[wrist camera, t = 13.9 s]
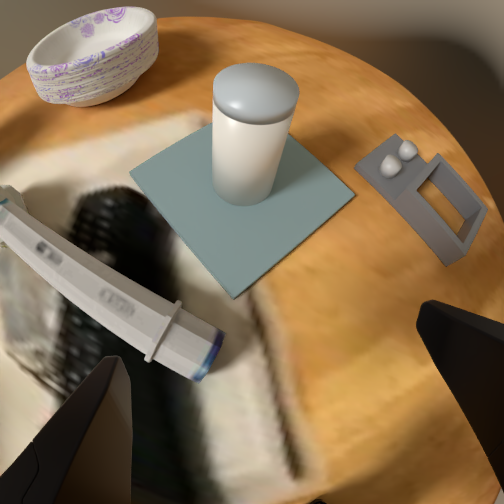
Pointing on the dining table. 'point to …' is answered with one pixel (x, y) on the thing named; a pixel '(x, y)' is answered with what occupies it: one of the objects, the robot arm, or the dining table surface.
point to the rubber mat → (239, 208)
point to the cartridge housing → (414, 205)
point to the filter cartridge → (249, 130)
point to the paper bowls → (94, 56)
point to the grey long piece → (110, 294)
